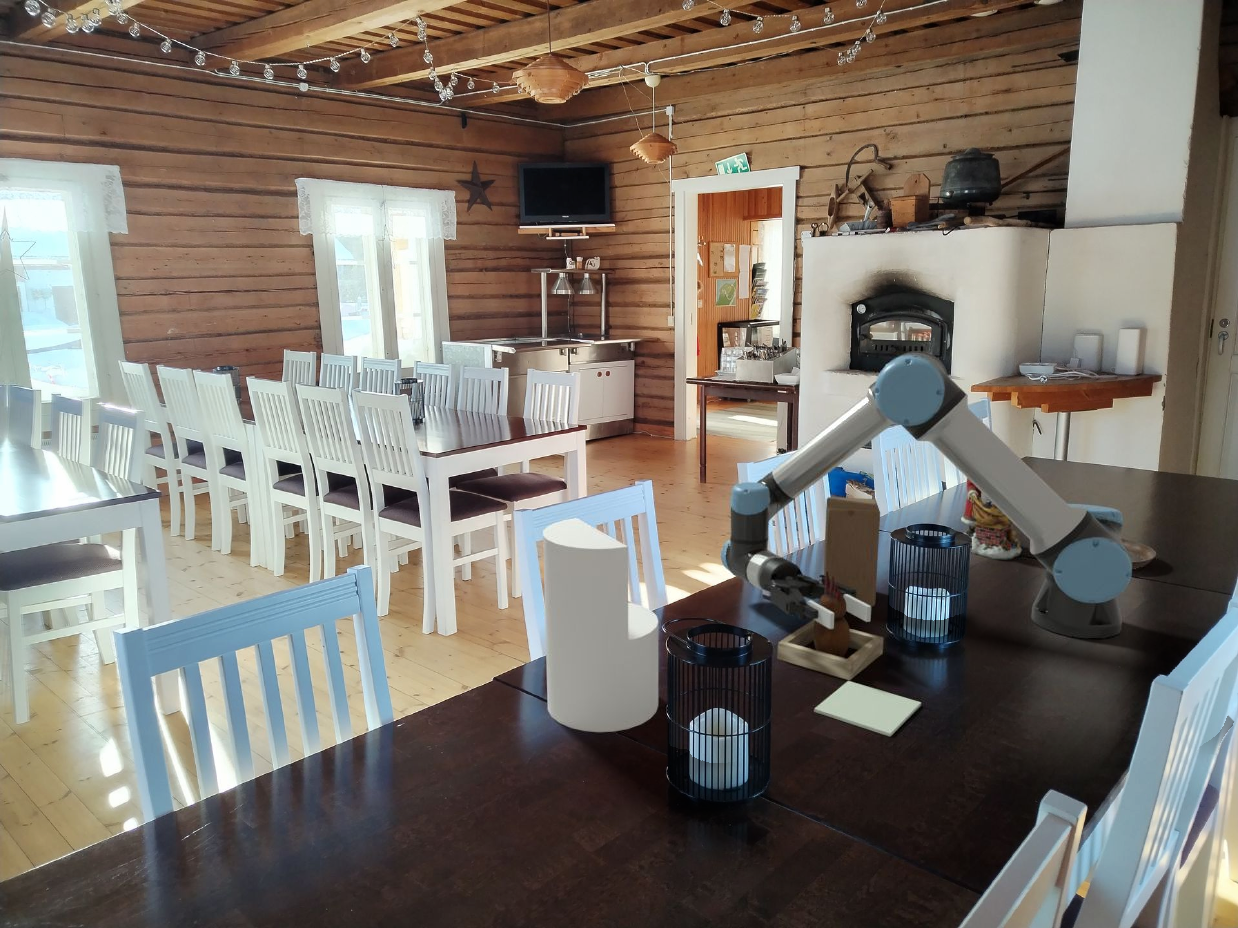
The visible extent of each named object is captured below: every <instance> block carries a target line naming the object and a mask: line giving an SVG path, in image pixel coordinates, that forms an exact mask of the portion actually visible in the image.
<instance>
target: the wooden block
mask: <svg viewBox="0 0 1238 928" xmlns="http://www.w3.org/2000/svg"><path fill="white" fill-rule="evenodd" d="M825 506H826V507H825V532H824V533H825V534H824V553H823V554H824V555H823V558H824V559H823V574H822V575H825V576H826V571H828V575H829V579H831V578H832V576H833V577H834V581H836V582H838V583H840V584H843V585H845V586H848V587H850V588H852V589H855V590H857V597H856V599H858V600H860V601H862V602H864V603H866V604H868V605H870V606H871V607H875V605H876V595H877V594H876V593H877V577H878V558H879V543H880V542H879V540H880V526H881V525H880V524H881V521H880V520H881V511H880V508H879V505H878V502H877V500H876V499H875V498H862V497H860V498H858V497H857V498H855V497H836V496H835V497H831V496H828V497H827V498H826V505H825Z"/></svg>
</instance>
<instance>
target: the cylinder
mask: <svg viewBox="0 0 1238 928" xmlns="http://www.w3.org/2000/svg"><path fill="white" fill-rule="evenodd" d="M542 541H543V542H542V543H543V545H542V546H543V550H542V551H543V581H544V584H543V585H544V617H545V618H544V619H545V656H546V657H545V659H546V660H545V661H546V688H547V689H546V690H547V692H546V693H547V694H546V696H547V698H546V699H547V711H548V713H549V715H550V716H551V718H552V719H554V720H555V721H556V722H558V723H559V724H561V725H564V726H565V727H568V728H570V729H573V730H579V731H583V732H592V733H593V732H594V733H607V732H609V733H610V732H618V731H623V730H629V729H631V728H634V727H637V726H640V725H643V724H644V723H646V722H647V721H649V720H650V719H651V718H652V717H653V716H654V715H655V714H657V710H658V708H659V618H658V616H657V614H655V613H654V612H653V611H652V610H651V609H649V608H646V607H645V606H643V605H639V604H636V603H632V602H629V547H628V545H626V544H624V543H622V542H620V541H619V540H617V539H615V538H613V537H611V536H609V535H608V534H606V533H604V532H603V531H601V530H599V529H597V528H595V527H593V526H592V525H590V524H589V523H586V522H585V521H583V520H581V519H579V518H578V517H574V518H568V519H564V520H560V521H557V522H554V523H552V524H549V525H548V526H546V527H545V528H544V529H543V530H542Z"/></svg>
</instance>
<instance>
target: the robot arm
mask: <svg viewBox="0 0 1238 928" xmlns="http://www.w3.org/2000/svg"><path fill="white" fill-rule="evenodd" d="M867 387H868V388H867V394H866V395H864V397H862V398H861V399H859V401H858V402H856V403H855V404H854V405H852V406H851V407H850V408H849V409H847V410H846V411H845V412H844V413H842V414H841V415H840V416H839V417H838V418H836V419H835V420H834V421H832V422H831V423H830V424H829V425H827V426H826V427H825V428H824V429H822V430H821V431H820V432H819V433H817V434H816V435H815V436H814V437H811V438H812V439H810V440H809V441H807V442H805V444H804V445H802V446H801V447H800V448H799V449H798V450H795V452H794V453H792V454H791V455H790V456H789V457H787V458H786V459H785V460H784V461H783V462H780V464H779V465H778V466H776V467H775V468H774V469H773V470H772V471H770V472H769V473H767V474H766V475H764V477H762V478H761V479H759V480H757V482H753V481H752V482H750V481H748V482H741V483H735V485H733V487H732V489H731V497H730V501H729V504H730V538H729V539H728V540H727V541H726V542H725V543H724V545H723V547H722V549H721V551H720V560H721V563H722V566H723V567H724V568H725V569H726V570H728V571H729V572H730V573H731V574H732V575H733V576H734V577H737V578H740V579H741V580H743V581H745V582H747V583H748V584H750V585H752V586H754V587H755V588H757V589H759V590H760V591H762V599H764V600H767V601H770V602H771V603H772V604H774V606H776V607H777V608H779V609H780V610H782V612H784V613H785V614H786V615H788V616H795V614H798V619H799V620H806V617H808V618H809V619H811V620H815V621H817V622H819V623H820V624H822V625H824V626H825V627H827V628H829V629H833V628H834V613H833V612H831V611H830V610H828V609H826V608H824V607H823V606H821V605H819V603H817V602H815V601H814V600H816V599H817V600H820V598H821V597H822V595H824V591H825V578H826V576H825V575H823V574H819V576H818V578H816V579H814V578H812V577H810V576H807V575H806V574H805V575H804V573H803V572H802V570H801V568H800V567H799V565H797V564H795V563H794V562H792V561H790V560H788V559H786V558H784V557H782V556H780V555H778V554H776V553H774V552H772V551H770V550H769V549H768V547H769V528H770V527H769V525H770V521H771V519H772V518H773V517H775V515H777V514H778V512H780V511H781V510H782V509H784V508H785V507H786V506H788V505H789V504H791V503H792V502H793V501H794V500H795V499H797V498H798V497H799V496H800V495H802V494H803V493H804V492H806V491H807V490H809V488H810V487H812V486H813V485H815V484H816V483H817V482H819V481H820V480H821V479H822V478H824V477H825V476H826V475H828V474H829V473H830V472H831V471H833V470H834V469H836V468H837V467H838V466H840V465H841V464H842V463H844V462H845V461H846V460H847V459H849V458H850V457H851V456H853V455H854V454H855V453H857V452H858V451H859V450H860V449H862V448H863V447H865V446H866V445H867V444H868V443H870V442H871V441H873V440H874V439H875V438H876V437H878V436H879V435H880V434H882V433H883V432H884V431H886V430H887V429H888V428H890V427H891V426H892V425H897V426H898V425H899V426H901V427H903V429H905V431H907V433H908V434H910V435H911V436H912V437H913V438H914V439H915V441H916V442H929V443H932V445H933V446H934V447H935V448H936V449H938V451H939V452H941V453H942V455H943V456H944V457H945V458H946V459H948V460H949V461H950V462H951V463H952V465H954V467H956V468H957V469H958V471H960V472H961V473H962V474H963V475H964V477H966V479H967V478H968V479H969V480H970V481H971V482H972V483H973V484H974V485H975V486H976V487H977V488H978V489H979V490H980V491H981V492H982V493H983V494H984V495H985V496H986V497H987V498H988V499H989V500H990V501H991V502H992V503H993V504H995V505H996V506H997V507H998V508H999V509H1000V510H1001V511H1002V512H1003V513H1004V514H1005V515H1006V516H1007V517H1008V518H1009V519H1010V520H1011V521H1012V522H1013V523H1012V524H1013V525H1014V526H1015V527H1017V528H1018V529H1019V530H1020V531H1021V532H1022V533H1023V534H1024V535H1025V536H1026V537H1027V538H1028V539H1029V552H1030V553H1031V555H1033V556H1034V557H1035V559H1037V560H1038V562H1040V564H1042V565H1043V567H1044V568H1045V577H1044V582H1043V584H1042V585H1041V587H1040V590H1039V591H1038V594H1037V596H1036V598H1035V600H1034V602H1033V604H1032V607H1031V620H1032V621H1033V622H1034V623H1035V624H1036V625H1038V626H1039V627H1041V628H1043V629H1045V630H1048V631H1049V632H1053V633H1056V634H1059V635H1062V636H1067V637H1072V636H1073V637H1072V638H1079V639H1080V638H1081V639H1089V638H1102V639H1106V638H1105V637H1110V636H1114V635H1116V634H1118V633H1119V632H1120V630H1121V631H1122V625H1123V624H1122V622H1123V620H1122V619H1123V618H1122V615H1121V610H1120V606H1119V602H1118V599H1117V597H1118V596H1120V595H1121V594H1122V593H1123V592H1124V591H1125V590H1126V589H1127V587H1128V586H1129V583H1130V582H1131V580H1132V573H1133V570H1132V562H1131V558H1130V555H1129V553H1128V552H1127V551H1126V549H1125V547H1124V544H1123V542H1122V540H1121V539H1122V529H1123V526H1124V521H1123V513H1122V512H1121V511H1120V510H1118V509H1115V508H1113V507H1106V506H1101V505H1091V504H1084V503H1083V504H1081V503H1067V502H1066V501H1065V500H1064V499H1063V498H1062V497H1060V496H1059V495H1058V493H1057V492H1056V491H1055V490H1053V489H1052V488H1051V487H1050V486H1049V485H1048V484H1047V483H1046V482H1045V481H1044V480H1043V479H1042V478H1041V477H1040V476H1039V475H1038V474H1037V473H1036V472H1035V471H1034V470H1033V469H1031V467H1030V466H1028V465H1027V464H1026V463H1025V461H1024V460H1022V459H1021V458H1020V457H1019V456H1018V455H1017V454H1016V453H1015V452H1014V451H1013V450H1012V449H1011V448H1010V447H1009V446H1008V445H1007V444H1006V443H1005V442H1004V441H1003V440H1001V438H999V436H997V435H996V433H995V432H993V431H992V430H991V428H989V427H988V426H987V425H986V424H985V423H984V422H983V421H982V420H981V419H980V418H979V417H978V416H977V415H976V414H974V412H973V411H972V410H970V409H969V405H968V403H969V402H968V401H969V398H968V394H967V393H966V392H965V391H964V390H963V389H962V388H961V387H960V386H959V385H958V384H957V383H956V382H955V381H954V380H952V378H951V377H949V375H948V371H947V369H946V366H945V365H944V364H943V363H942V361H941V360H940V359H939V358H937V356H935V355H934V354H933V355H932V353H928V352H926V351H921V350H917V351H916V350H913V351H907V352H906V353H905V352H904V353H902V354H901V355H900V354H899V355H898V356H897V357H895V358H893V359H892V360H890V361H889V362H888V363H885V366H884V367H883V368H882V369H881V370H880V372H879V374H878V376H877V379H876V380H875V381H874V382H873V383H872V384H870V385H869V386H867ZM829 580H830V583H831V579H829ZM835 584H837V586H838V590H841V596H843V597H844V599H845V601H846V612H848V613H850V614H851V615H853V616H854V617H857V618H859V619H860V620H862V621H864V622H865V623H867V622H869V623H870V622H871V618H872V617H871V615H872V606H870V605H868V604H866V603H864V602H862V601H860V600H858V599H856V597H857V590H855V589H852V588H850V587H848V586H845V585H843V584H840V583H838V582H836V581H834V586H835ZM806 599H809V600H806ZM1120 633H1121V632H1120ZM1120 633H1119V634H1120ZM1119 634H1118V635H1119ZM1116 636H1117V635H1116ZM1114 637H1115V636H1114ZM1110 638H1111V637H1110Z"/></svg>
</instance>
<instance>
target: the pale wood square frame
mask: <svg viewBox="0 0 1238 928" xmlns="http://www.w3.org/2000/svg"><path fill="white" fill-rule="evenodd" d="M814 622H815V620H814V619H811V620H810V621H809V622H808V623H806V624H805V625H803V626H801V627H800V628H799V629H797V630H795V631H794V632H792V633H791V634H789V635H788V636H785V637H784V638H783V639H781V640H780V641H778V642H777V657H776V659H777V660H779V661H783V662H786V663H789V664H793V665H796V666H800V667H803V668H806V669H809V670H813V671H817V672H821V673H824V674H827V675H830V676H834V677H837V678H839V679H843V680H847V681H851V680H852V679H853V678H855V677H856V676H857V675H858V674H860V673H861V672H862V671H863V670H864V669H866V668H867V667H868V666H869V665H870V664H871V663H873V662H874V661H875V660H876V659H878V658H879V657H880V656H881V655H883V654H884V653H883V652H884V651H883V649H884V637H883V636H879V635H875V634H871V633H868V632H864V631H859V630H856V629H854V628H853V629H851V628H849V630H850V644H849V647H848V648H850V649H855V650H857V651H855V652H854V653H852V654H851V655H850V656H849V657H848V658H845V657H838V656H835V655H831V654H827V653H824V652H820V651H817V650H816V649H812V648H810V647H805V646H807V645H809V644H810V643H811V642H814V636H813V627H814Z"/></svg>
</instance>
